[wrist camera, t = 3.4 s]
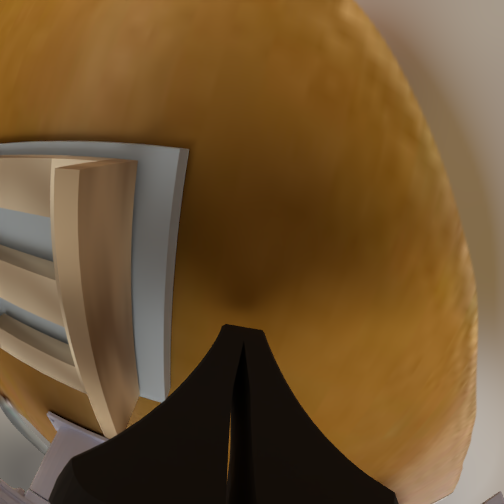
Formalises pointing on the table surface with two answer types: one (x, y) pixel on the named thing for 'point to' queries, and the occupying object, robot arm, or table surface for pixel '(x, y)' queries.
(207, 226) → the table surface
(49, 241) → the board
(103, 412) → the beige flat slatted frame
